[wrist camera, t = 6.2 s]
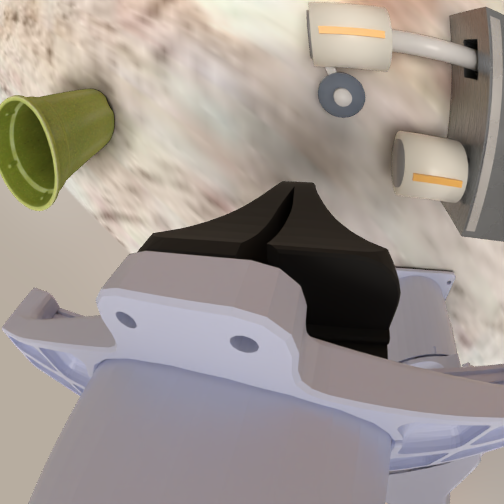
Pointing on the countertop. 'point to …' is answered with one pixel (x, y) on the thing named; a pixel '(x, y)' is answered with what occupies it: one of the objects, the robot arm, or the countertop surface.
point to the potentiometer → (341, 94)
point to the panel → (479, 124)
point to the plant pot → (50, 141)
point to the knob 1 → (372, 39)
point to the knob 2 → (428, 167)
